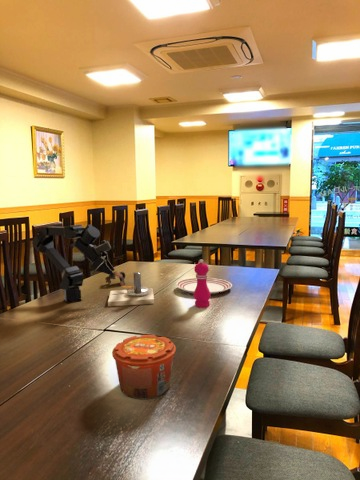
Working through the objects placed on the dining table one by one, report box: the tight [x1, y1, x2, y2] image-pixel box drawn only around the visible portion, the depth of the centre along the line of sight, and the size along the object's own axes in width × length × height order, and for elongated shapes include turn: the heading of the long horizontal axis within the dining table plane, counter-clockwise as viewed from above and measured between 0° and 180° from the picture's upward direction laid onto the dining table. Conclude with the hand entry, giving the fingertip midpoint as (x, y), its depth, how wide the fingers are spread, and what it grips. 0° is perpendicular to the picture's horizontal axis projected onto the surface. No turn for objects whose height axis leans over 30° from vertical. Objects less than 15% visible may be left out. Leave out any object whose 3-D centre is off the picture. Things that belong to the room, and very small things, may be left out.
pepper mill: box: [193, 259, 212, 309], centre depth 156 cm, size 7×7×20 cm
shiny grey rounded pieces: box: [121, 271, 150, 297], centre depth 169 cm, size 13×13×11 cm
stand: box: [107, 288, 155, 307], centre depth 170 cm, size 20×18×2 cm
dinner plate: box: [175, 277, 233, 295], centre depth 182 cm, size 27×27×3 cm
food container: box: [111, 334, 177, 400], centre depth 94 cm, size 16×16×11 cm
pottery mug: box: [105, 270, 126, 287], centre depth 197 cm, size 12×10×8 cm
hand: (113, 272), depth 164 cm, fingers open, 8 cm apart
